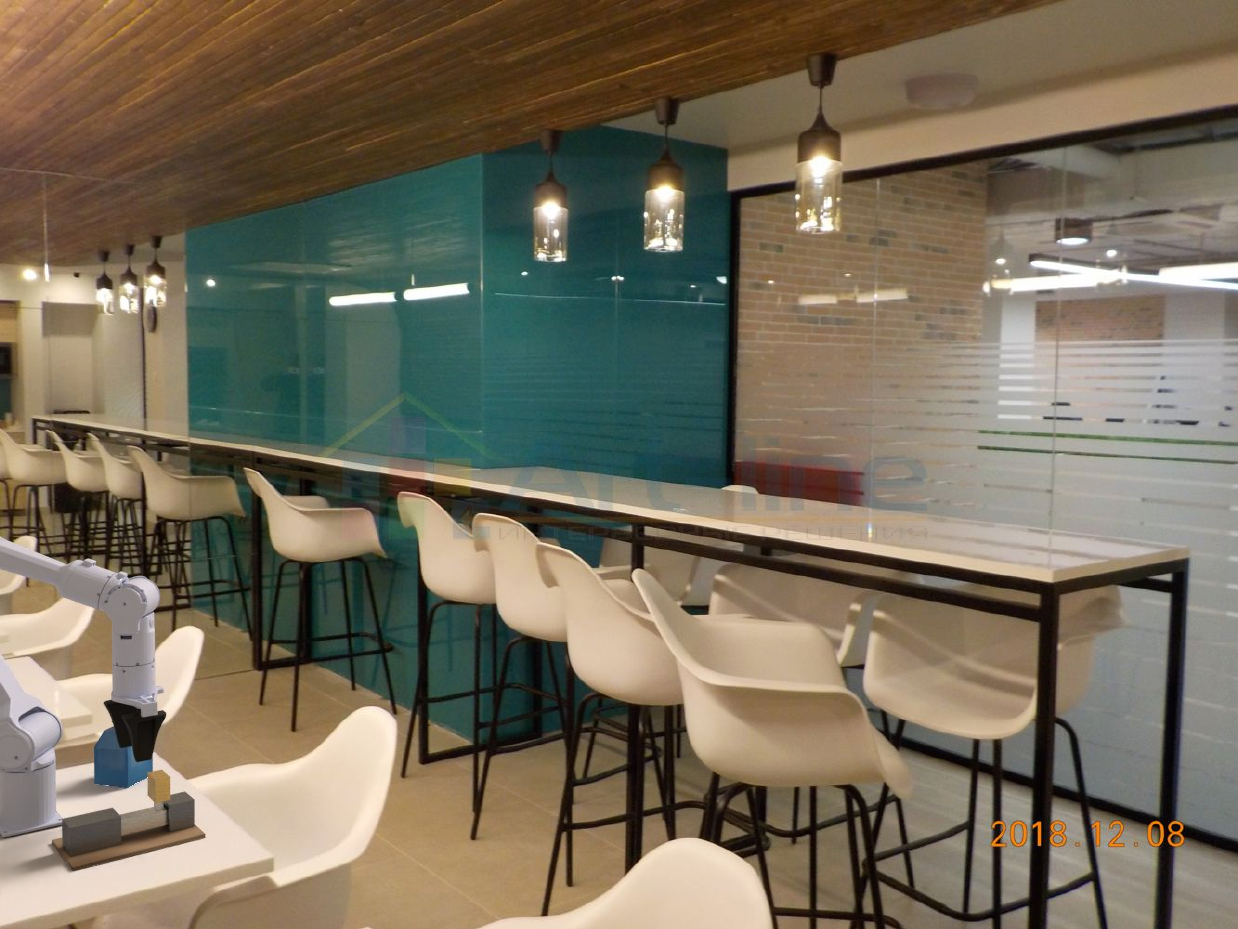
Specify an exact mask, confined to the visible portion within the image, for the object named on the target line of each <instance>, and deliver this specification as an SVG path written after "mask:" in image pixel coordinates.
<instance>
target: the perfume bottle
mask: <svg viewBox="0 0 1238 929" xmlns="http://www.w3.org/2000/svg"><path fill="white" fill-rule="evenodd" d="M111 723H112V724H113V722H112V721H111ZM153 756H154V754H153V755H152V759H151V760H146V761H141V762H136V761H135V759H134V756H133V751H132V746H130V747H125V748H120V747H119V745H118V741H117V738H116V733H115V729H114V725H113V726H111V727H109V728H107V729H104V731H103V732H102V734H101V735H100V736H99V738H98V739H97V741H96V743H95V745H94V746H93V784H99V785H98V786H103V785H109V786H108V787H112V786H117V787H116V788H121V787H124V789H129V787H130V786H132V785H133V786H135V785H136V784H135V783H137V782H139V783H140V781H141V782H143V781H144V780H146V779H148V778H147V773H148V772H152V771H154V763H153V762H154V761H153V760H154V757H153ZM142 780H143V781H142ZM134 784H135V785H134ZM137 784H138V783H137ZM133 786H132V787H133ZM130 788H131V787H130Z"/></svg>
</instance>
